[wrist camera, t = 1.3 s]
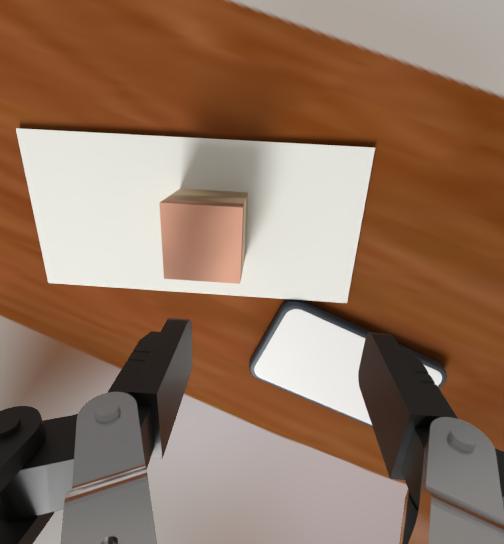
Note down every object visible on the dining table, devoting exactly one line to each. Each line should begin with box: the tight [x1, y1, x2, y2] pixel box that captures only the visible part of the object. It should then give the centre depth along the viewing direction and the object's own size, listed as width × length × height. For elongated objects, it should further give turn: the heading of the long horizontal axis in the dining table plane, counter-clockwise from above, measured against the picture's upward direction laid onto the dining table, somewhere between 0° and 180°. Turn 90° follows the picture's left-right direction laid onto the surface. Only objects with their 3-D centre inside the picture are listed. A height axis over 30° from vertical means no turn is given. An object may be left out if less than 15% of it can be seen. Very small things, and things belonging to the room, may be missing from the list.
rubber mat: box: [16, 128, 375, 303], centre depth 26 cm, size 25×12×1 cm, turn 87°
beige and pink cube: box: [159, 188, 248, 284], centre depth 23 cm, size 5×5×5 cm
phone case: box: [249, 299, 447, 427], centre depth 31 cm, size 9×2×16 cm
